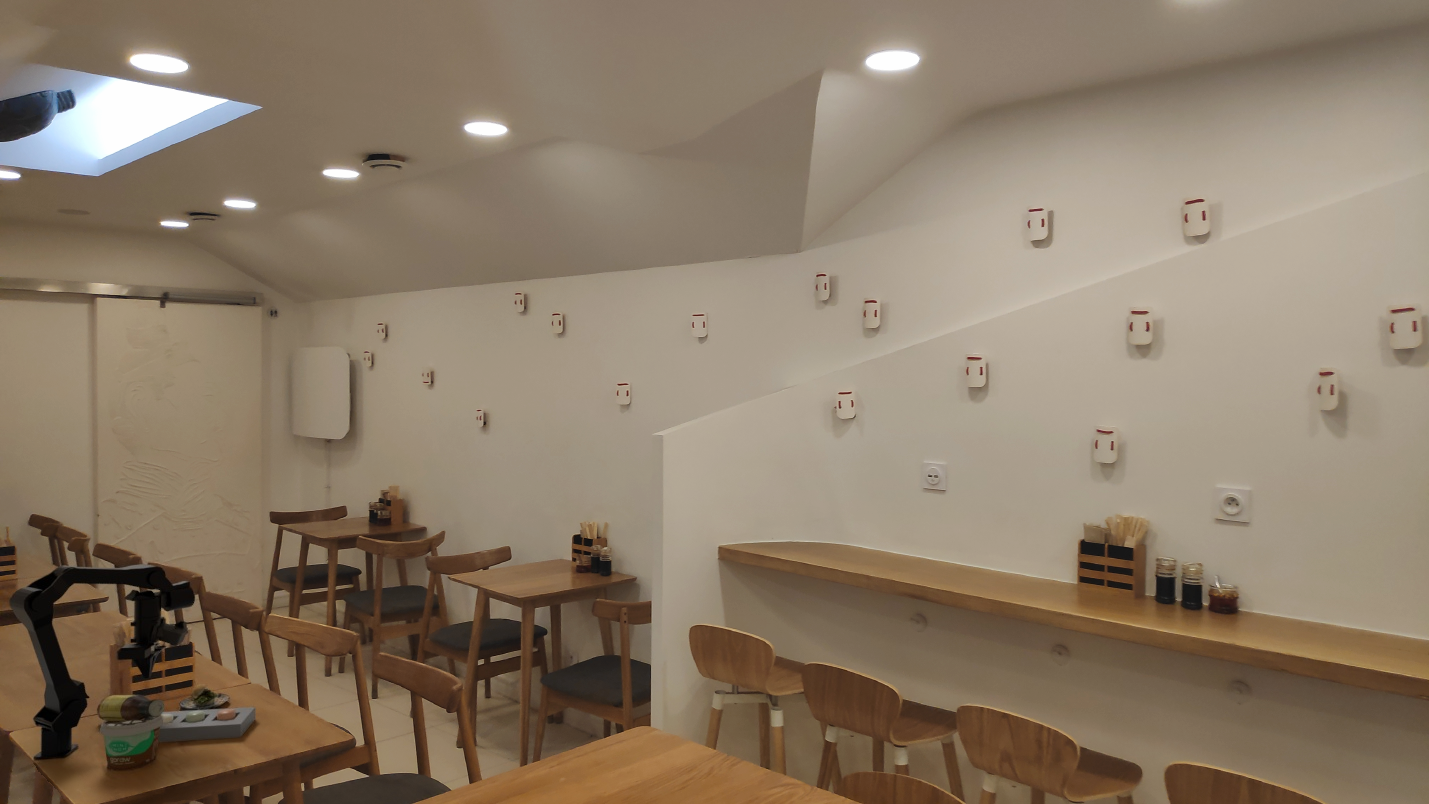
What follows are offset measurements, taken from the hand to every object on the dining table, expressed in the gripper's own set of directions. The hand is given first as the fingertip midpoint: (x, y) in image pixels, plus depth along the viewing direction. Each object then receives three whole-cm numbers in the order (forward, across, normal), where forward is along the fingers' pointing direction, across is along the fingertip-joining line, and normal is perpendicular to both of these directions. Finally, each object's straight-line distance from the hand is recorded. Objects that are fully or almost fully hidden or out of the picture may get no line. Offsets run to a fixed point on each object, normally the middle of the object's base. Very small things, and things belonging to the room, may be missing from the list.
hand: (147, 677), depth 222 cm
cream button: (+11, -6, -6) cm, 14 cm away
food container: (+12, -26, -7) cm, 29 cm away
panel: (+12, -6, -13) cm, 19 cm away
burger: (+12, +13, -8) cm, 20 cm away
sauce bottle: (+9, +6, +12) cm, 16 cm away
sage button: (+11, -6, -13) cm, 18 cm away
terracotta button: (+11, -5, -20) cm, 23 cm away
